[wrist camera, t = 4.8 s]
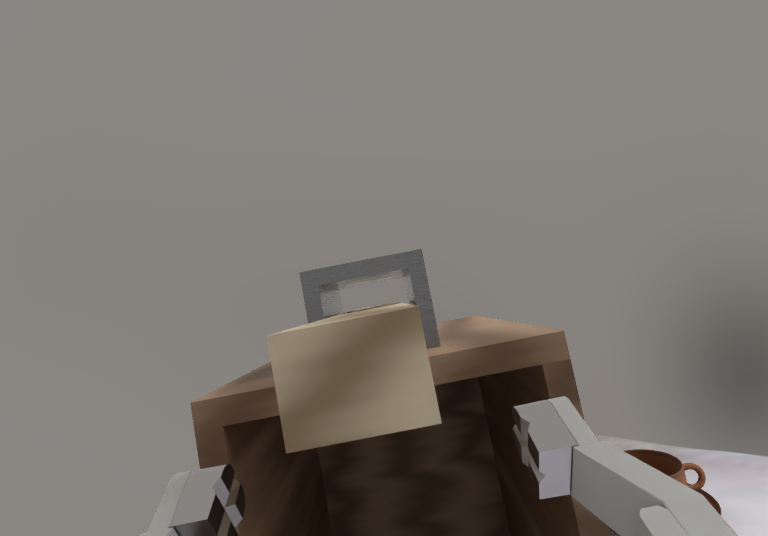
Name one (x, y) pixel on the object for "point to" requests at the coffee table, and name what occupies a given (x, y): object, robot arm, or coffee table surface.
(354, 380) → the beech bar
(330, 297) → the metal tunnel
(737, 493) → the coffee table surface
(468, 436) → the brown tall wooden box
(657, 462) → the cup and saucer
